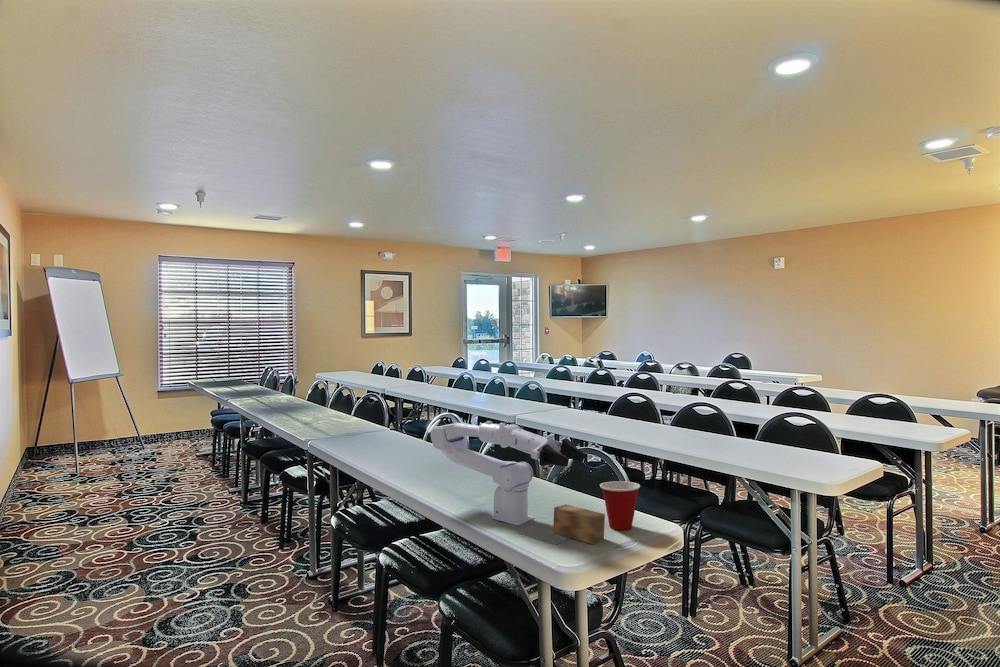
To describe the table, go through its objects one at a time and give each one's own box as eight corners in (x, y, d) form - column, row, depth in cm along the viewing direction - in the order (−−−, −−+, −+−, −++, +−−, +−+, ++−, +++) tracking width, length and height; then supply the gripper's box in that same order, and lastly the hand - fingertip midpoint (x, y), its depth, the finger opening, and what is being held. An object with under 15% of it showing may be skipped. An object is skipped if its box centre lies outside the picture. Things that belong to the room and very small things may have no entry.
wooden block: (553, 532, 146) (554, 507, 146) (564, 528, 150) (565, 504, 150) (592, 544, 138) (593, 518, 138) (603, 539, 142) (604, 513, 142)
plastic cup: (622, 518, 158) (621, 476, 158) (648, 530, 149) (648, 485, 148) (591, 525, 153) (591, 481, 153) (617, 537, 143) (617, 491, 143)
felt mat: (515, 533, 146) (515, 532, 146) (531, 526, 152) (531, 524, 152) (556, 545, 138) (556, 544, 138) (572, 537, 144) (572, 536, 143)
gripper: (519, 434, 147) (562, 449, 138) (551, 427, 158) (592, 440, 150) (516, 460, 148) (558, 476, 139) (548, 450, 159) (588, 465, 150)
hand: (575, 459), depth 144 cm, fingers open, 7 cm apart
